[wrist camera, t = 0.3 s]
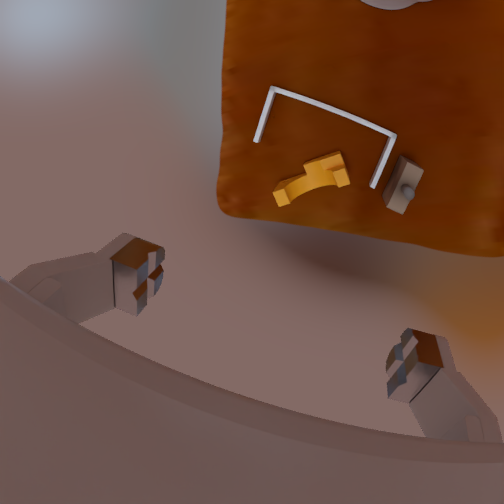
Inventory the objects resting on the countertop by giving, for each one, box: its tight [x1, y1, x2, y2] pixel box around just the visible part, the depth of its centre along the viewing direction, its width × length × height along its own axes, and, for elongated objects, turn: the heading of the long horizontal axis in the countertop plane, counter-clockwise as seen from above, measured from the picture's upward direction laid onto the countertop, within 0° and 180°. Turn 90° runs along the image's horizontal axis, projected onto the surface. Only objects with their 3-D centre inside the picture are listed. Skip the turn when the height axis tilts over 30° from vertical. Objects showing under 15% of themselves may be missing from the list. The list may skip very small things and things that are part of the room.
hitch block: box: [382, 155, 424, 214], centre depth 46 cm, size 8×3×9 cm, turn 163°
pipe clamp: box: [273, 151, 350, 207], centre depth 51 cm, size 12×4×6 cm, turn 115°
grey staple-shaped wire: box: [253, 86, 397, 189], centre depth 49 cm, size 10×22×2 cm, turn 73°
